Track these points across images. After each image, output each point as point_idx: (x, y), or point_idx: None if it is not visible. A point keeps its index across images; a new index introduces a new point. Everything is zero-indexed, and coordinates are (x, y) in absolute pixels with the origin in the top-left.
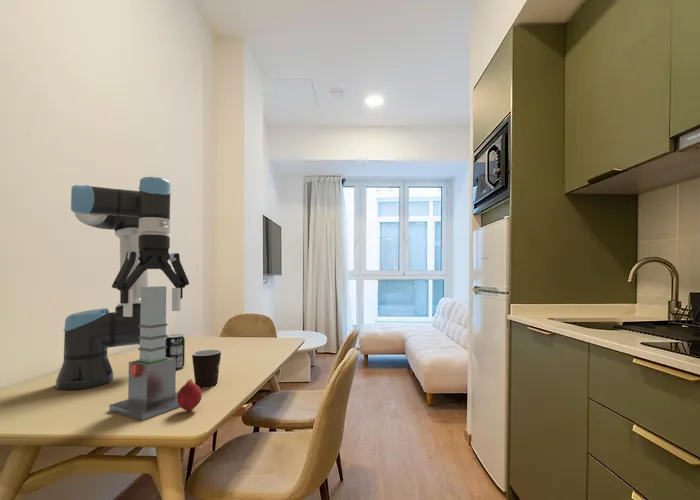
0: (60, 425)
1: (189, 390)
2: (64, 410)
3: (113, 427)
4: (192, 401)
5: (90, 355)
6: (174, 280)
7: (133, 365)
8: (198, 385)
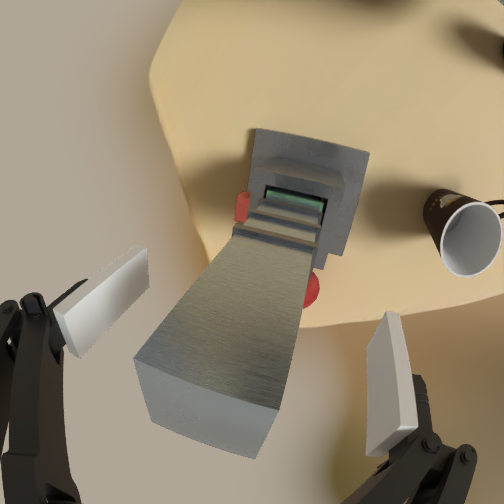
0: (187, 114)
1: None
2: (232, 46)
3: (211, 204)
4: None
5: None
6: (349, 498)
7: (235, 209)
8: (425, 208)
